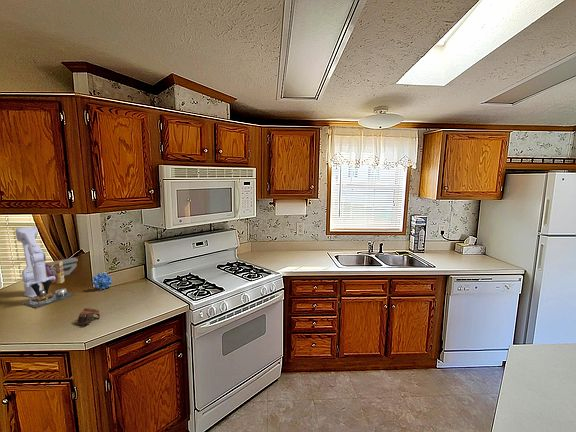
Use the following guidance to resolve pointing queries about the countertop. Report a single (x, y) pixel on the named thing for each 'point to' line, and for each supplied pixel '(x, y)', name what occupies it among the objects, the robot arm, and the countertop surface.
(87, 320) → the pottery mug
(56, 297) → the gear carrier
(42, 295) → the planet gear
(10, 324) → the countertop surface
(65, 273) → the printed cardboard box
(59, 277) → the candy box
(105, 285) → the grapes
